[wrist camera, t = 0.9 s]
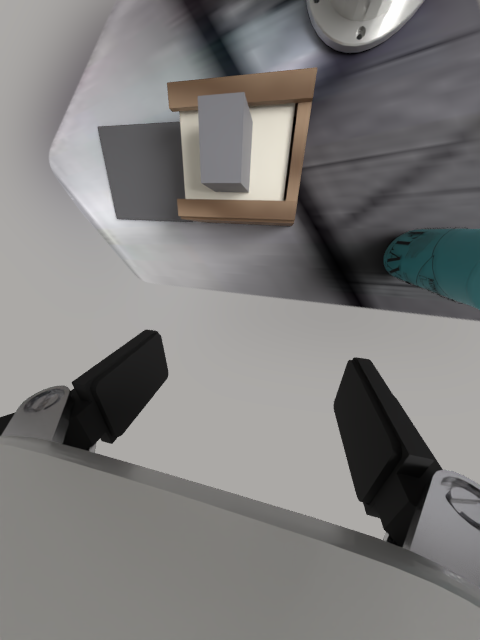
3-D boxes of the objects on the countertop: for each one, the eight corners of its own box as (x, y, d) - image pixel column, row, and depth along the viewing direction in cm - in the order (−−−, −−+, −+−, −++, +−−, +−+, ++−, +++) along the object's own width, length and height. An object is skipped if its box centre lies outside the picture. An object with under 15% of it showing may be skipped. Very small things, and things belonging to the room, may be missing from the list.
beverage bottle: (397, 221, 25) (666, 190, 7) (444, 239, 25) (842, 253, 7) (366, 267, 28) (505, 323, 10) (408, 284, 28) (624, 371, 10)
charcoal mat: (101, 128, 28) (97, 126, 28) (186, 123, 26) (184, 121, 25) (119, 218, 33) (116, 218, 33) (192, 221, 31) (191, 221, 30)
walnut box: (200, 123, 25) (166, 78, 18) (307, 116, 23) (318, 62, 16) (204, 222, 30) (178, 218, 23) (291, 225, 28) (294, 223, 21)
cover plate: (183, 112, 21) (152, 74, 16) (295, 104, 18) (299, 58, 14) (189, 207, 24) (165, 200, 20) (282, 209, 22) (281, 202, 17)
